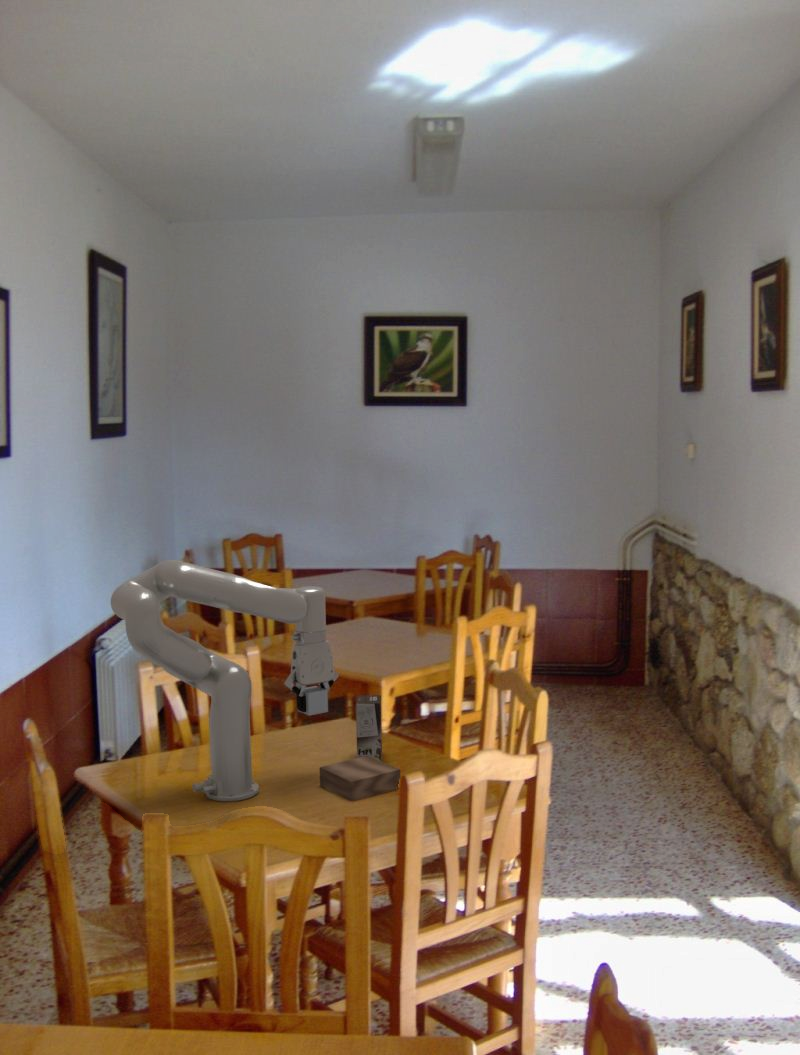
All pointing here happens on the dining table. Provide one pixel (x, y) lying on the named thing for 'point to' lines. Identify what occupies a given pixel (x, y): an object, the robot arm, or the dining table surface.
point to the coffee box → (369, 726)
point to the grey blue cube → (315, 700)
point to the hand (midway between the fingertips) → (312, 708)
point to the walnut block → (359, 777)
